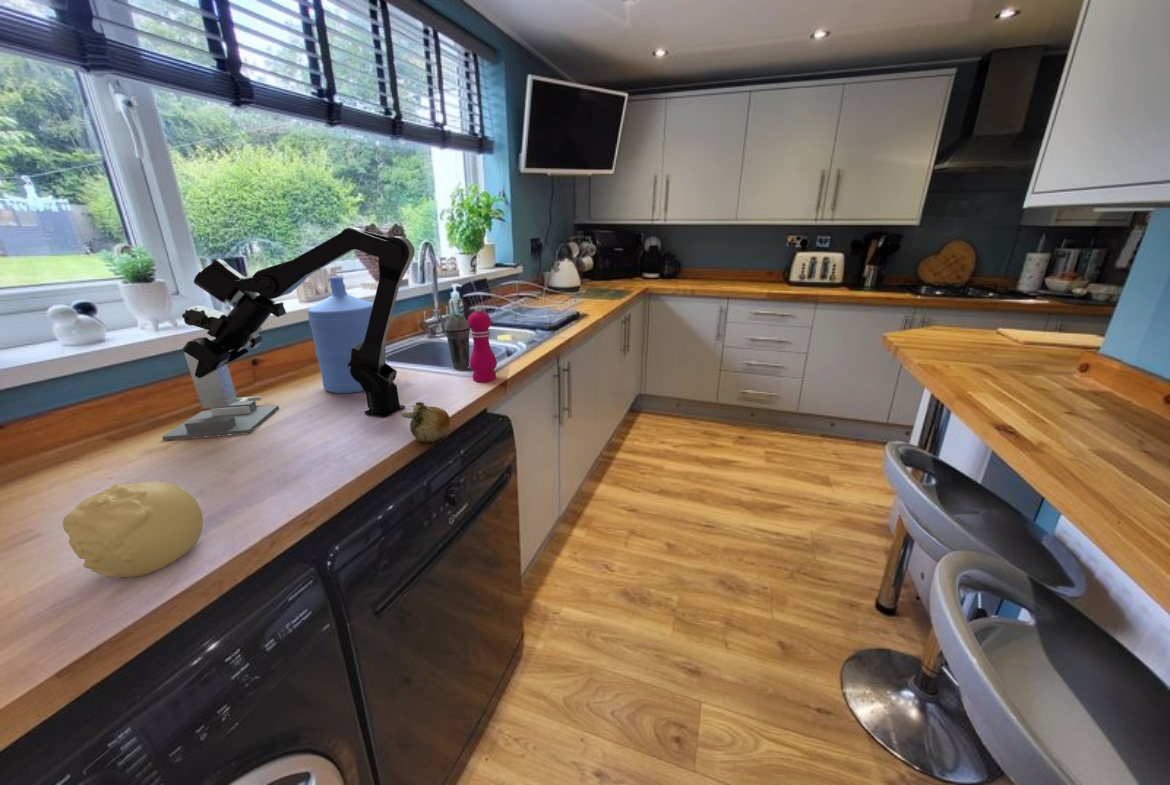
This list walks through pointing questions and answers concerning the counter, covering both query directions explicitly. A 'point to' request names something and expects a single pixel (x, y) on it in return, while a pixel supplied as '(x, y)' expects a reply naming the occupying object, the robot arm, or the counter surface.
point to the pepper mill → (481, 347)
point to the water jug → (338, 335)
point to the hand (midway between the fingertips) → (203, 373)
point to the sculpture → (134, 528)
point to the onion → (427, 422)
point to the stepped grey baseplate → (224, 420)
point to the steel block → (213, 385)
